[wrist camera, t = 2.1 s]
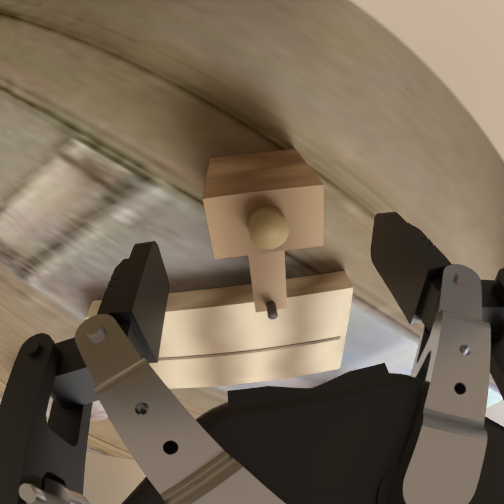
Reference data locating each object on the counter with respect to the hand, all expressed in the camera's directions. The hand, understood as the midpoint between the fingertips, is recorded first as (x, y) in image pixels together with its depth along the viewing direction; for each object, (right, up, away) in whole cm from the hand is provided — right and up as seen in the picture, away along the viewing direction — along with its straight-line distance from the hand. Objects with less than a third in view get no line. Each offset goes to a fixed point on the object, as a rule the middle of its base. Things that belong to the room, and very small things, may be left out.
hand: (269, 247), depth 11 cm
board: (-3, -7, +14) cm, 16 cm away
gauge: (0, +2, +9) cm, 9 cm away
